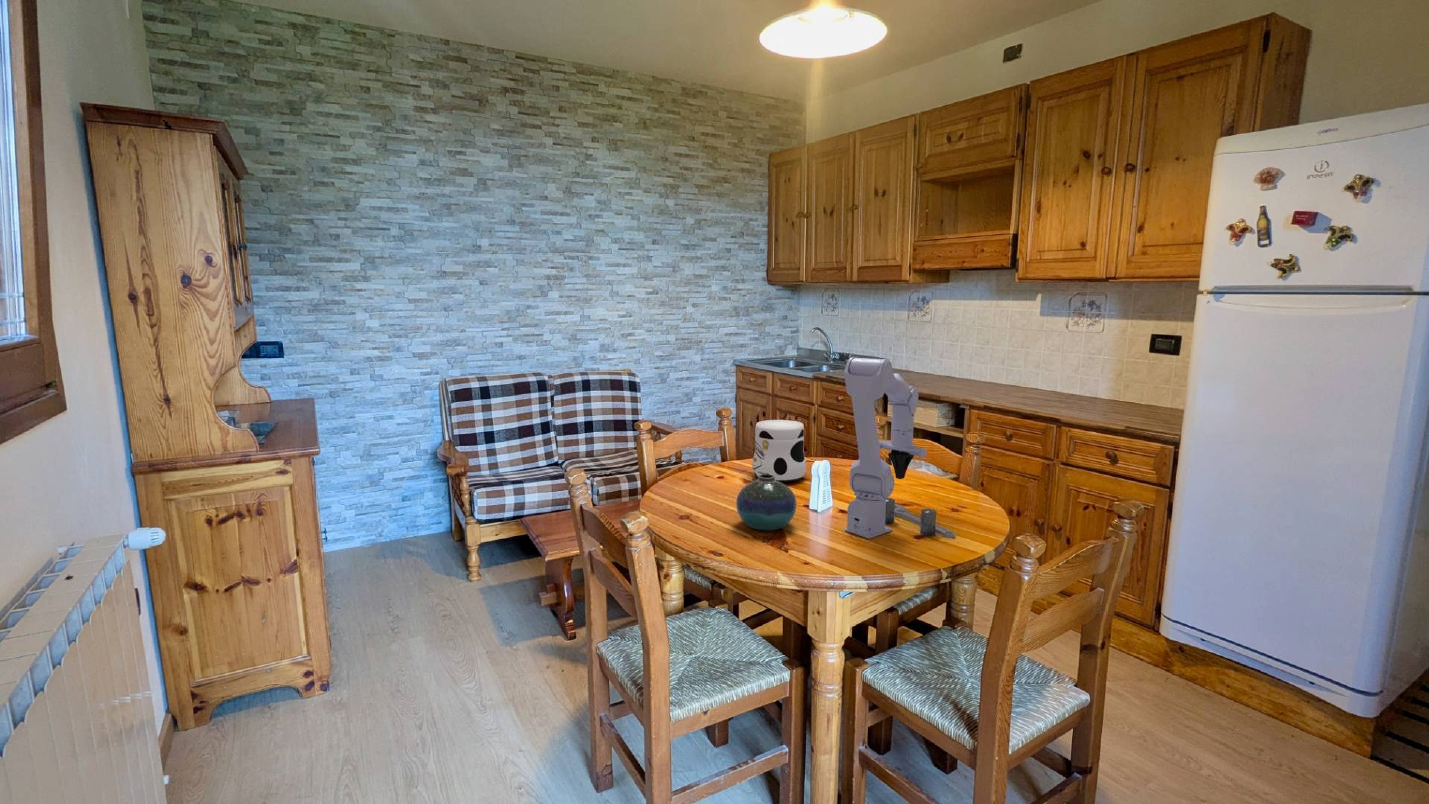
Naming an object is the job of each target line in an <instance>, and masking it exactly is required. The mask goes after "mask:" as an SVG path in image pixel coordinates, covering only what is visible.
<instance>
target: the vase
mask: <svg viewBox="0 0 1429 804" xmlns="http://www.w3.org/2000/svg"><path fill="white" fill-rule="evenodd" d="M735 503H736V504H735V505H736V506H735V508H736V511H737V514H738V517H739V518H740V520H741V521H742V522H743V523H744V524H745V525H747V526H748V527H750V528H752V529H754V530H759V531H765V532H766V531H776V530H777V531H778V530H780V529H782V528H785V527H786V526H787V525H789V524H790V523H791V521H792V520H793V518H794V517H795V514H796V512H797V505H798V503H797V499H796V495H795V493H794V492H793V490H792V489H791V488H790V487H789V486H787V485H786V484H784V482H779V481H777V480H775V477H774V476H773V475H770V474H763V475H759V478H758V477H757V479H756V480H753V481H751V482H749V483H748V484H747V485H744V486H743V487H742V488H741V489H740V491H739V492H738V494H737V497H736V502H735Z"/></svg>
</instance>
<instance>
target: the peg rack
mask: <svg viewBox="0 0 1429 804" xmlns="http://www.w3.org/2000/svg"><path fill="white" fill-rule="evenodd" d="M895 504H896V499H895V498H892V497H887V498H886V514H885V525H893V524H895V517H896V516H895ZM920 518H921V524H920V527H919V535H920V536H922V537H926V538H931V537H933V538H934V537H935V536H936V533H935V531H936V524H937V510H935V509H933V508H932V509H931V508H922V509H920Z"/></svg>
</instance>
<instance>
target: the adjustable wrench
mask: <svg viewBox="0 0 1429 804" xmlns="http://www.w3.org/2000/svg"><path fill="white" fill-rule="evenodd" d="M894 517H895V518H896V517H897V518H902V519H905V520H907V521H908V522H911V523H914V524H915V525H917V526H920V524H921V516H919V515H918V516H917V515H916V514H913V513H912V512H910V511H908V510H907V508H906V507H905V506H903V505H901V504H896V503H895V516H894ZM935 534H937V535H939V536H941V537H943V536H944V538H945V537H946V538H947V539H955V537H956V533H955V532H954V531H952V530H950V529H947V528H945V527H943V526H941V525H938V524H937V523H936V531H935Z"/></svg>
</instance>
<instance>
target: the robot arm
mask: <svg viewBox="0 0 1429 804" xmlns="http://www.w3.org/2000/svg"><path fill="white" fill-rule="evenodd" d="M844 369H845V370H844V380H845V381H844V383H845V388H846V394H847V395H848V396H849V397H851V402H852V403H851V405H852V412H853V420H854V428H855V434H856V443H857V451H858V452H857V453H858V457H859V458H858V459H857V460H855V462H853V464H852V465H851V467H850V469H849V481H848V482H849V483H848V484H849V487H850V489H851V491H852V492H853V496H855V498H854V499H853V500H852V501H850V503H848V506H847V519H846V520H847V521H846V527H844V531H846V532H849V533H852V534H855V535H857V536H861V537H863V538H866V539H873V538H875V537H878V536H880V535H883V534H886V533H888V532H891V531H893V527H892V528H891V527H890V526H886V524H885V514H886V498H890V496H891V495H892V494H893V492H894V488H895V479H897V480H903V479H905V477H906V473H907V471H908V468H909V465H910V463H911V462H912V460H913V459H914V457H915V456H916V457H919V458H922V459H923V458H926V457H927V456H928V455H927V453H928V449H925V448H921V447H919V446H916V445H914V444H913V443H914V423H915V421H914V420H915V414H916V413H917V405H918V401H919V390H918V388H916V387H915V386H914V385H909V384H908V383H907V382H906V381H905V379H903V378H902V376H901V374H900V373H893V364H892V361H890V359H889V358H868V357H867V358H866V357H865V358H863V357H856V356H851V357H850V358H849V359H848V360H847V361H846V364H845V368H844ZM884 394H885V395H886V396H887V398H888V402H889V405H890V406H892V408H891V427H890V428H891V430H890V431H891V432H890V441H889V440H887V441H886V440H879V433H878V424H877V415H876V407H875V401H876V400H878V399H881V398H883V397H884ZM881 449H883V450H888V451H890V452H888V454H887V456H888V458H889V459H890V462H891V464H892V466H893V471H894V474H893V472H892V469H891V465H890V464H889V463H888V462H886V461H885V460H883V458H882V457H881V451H880V450H881ZM894 475H895V477H894Z"/></svg>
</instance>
